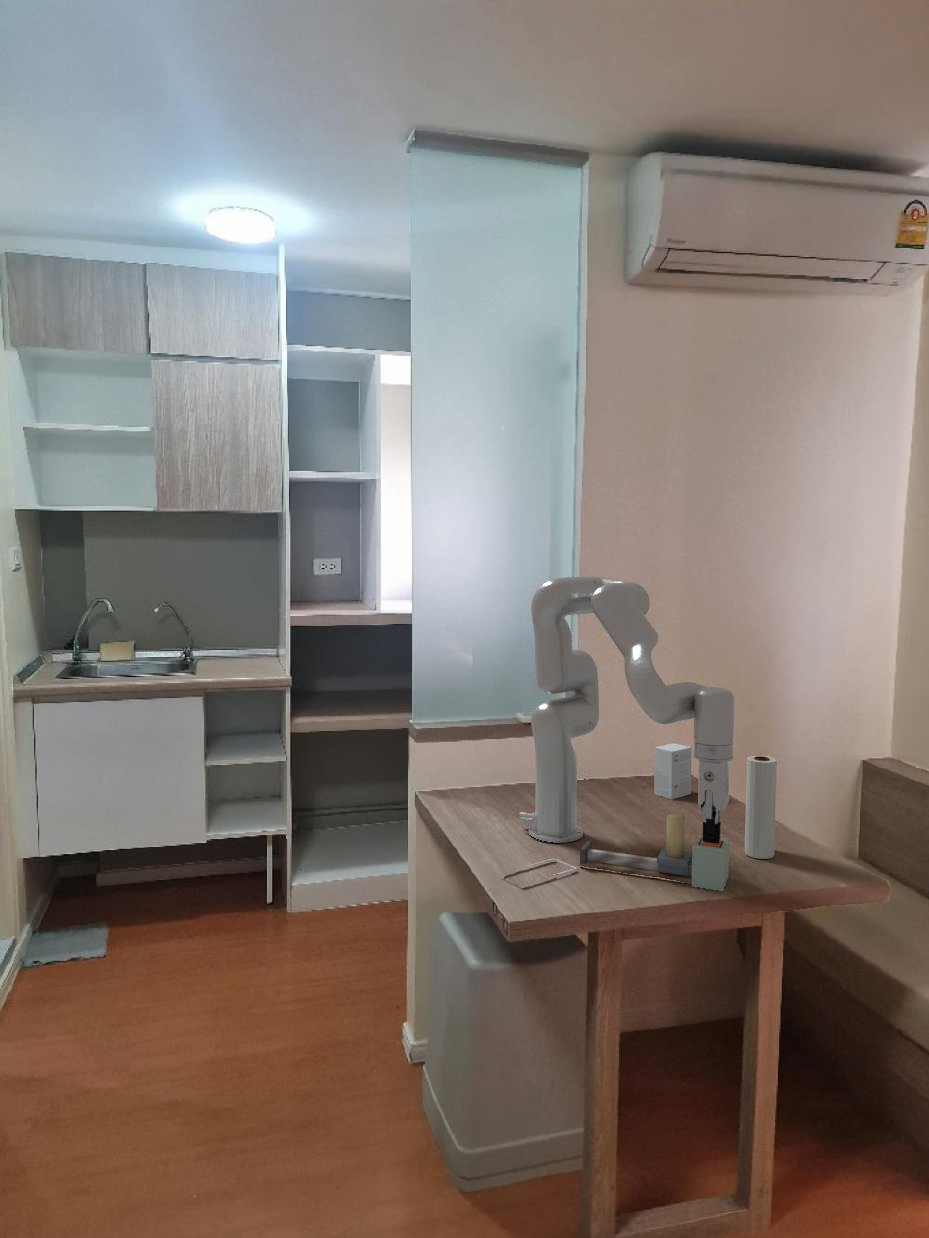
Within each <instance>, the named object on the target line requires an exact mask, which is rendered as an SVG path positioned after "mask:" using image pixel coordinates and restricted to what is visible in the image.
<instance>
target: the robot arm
mask: <svg viewBox="0 0 929 1238" xmlns="http://www.w3.org/2000/svg"><path fill="white" fill-rule="evenodd" d="M650 601H651V600H650V596H649V593H648V591H647V590H646V588H644V587H643V586H642V585H641V584H639V583H636V582H634V581H628V580H626V581H625V580H619V579H615V578H614V579H613V578H606V577H601V576H566V577H565V576H564V577H558V578H557V577H556V578H552V579H549V580H548V581H546V582H543V583H542V584H541V585H540V586H539V587H538V588H537V589H536V590H535V592H534V594H533V597H532V600H531V603H530V604H531V605H530V611H531V612H530V613H531V619H532V626H533V634H534V635H533V636H534V659H535V660H534V662H535V664H534V665H535V680H536V684H537V686H538V688H539V689H540V691H541V692H543V693H545V694H549V695H557V694H563V693H564V697H559V698H555V699H551V700H550V699H549V700H546V701H544V702H542V703H540V704H539V705H538V706H537V707H536V708H535V709H534V710H533V712H532V715H531V718H530V723H531V724H530V725H531V726H530V727H531V731H532V735H533V741H534V753H535V756H534V759H535V760H534V761H535V764H534V765H535V767H534V768H535V807H534V808H535V812H533V811H532V813H530V812H529V813H528V812H527V811H526V812H525V811H520V812H519V813H518V819H519V820H520V823H522V824H529V825H530V826H529V827H528V835H529V836H530V835H531V836H532V837H534V838H536V839H535V840H537V839H539V840H538V841H540V840H542V841H541V842H544V841H547V842H546V843H551V842H553V843H554V844H565V843H572V842H575V841H578V840H580V839H581V838H582V837H583V836H584V830H583V828H582V827H581V826H579V825H577V817H578V816H577V792H578V789H577V788H578V787H577V786H578V785H577V784H578V780H577V779H578V778H577V777H578V774H577V773H578V771H577V770H578V767H577V766H578V761H577V754H576V752H575V749H574V746H573V744H572V741H571V739H574V738H577V737H583V736H584V735H587V734H590V733H592V732H593V731H594V730H595V729H596V727H597V725H598V723H599V718H600V698H599V674H598V667H597V665H596V661H595V660H594V658H593V656H591V655H590V654H589V653H588V652H587V651H584V650H583V649H573V643H572V642H573V640H572V639H573V636H572V631H571V628H570V625H569V624H568V622H567V620H566V618H565V617H567V616H572V615H573V616H574V615H585V614H586V615H587V614H594V615H595V616H596V618H597V620H598V621H599V623H600V624H601V626H602V627H603V628H604V630H605V631H606V634H608V636H609V637H610V638H611V639H610V640H612V641H613V643H614V644H615V646H616V647H617V649H618V651H620V652H619V653H621V655H622V656H623V658H624V659H623V660H624V666H623V667H624V674H625V678H626V679H625V680H626V683H627V686H628V689H629V691H630V692H631V694H632V696H633V697H634V699H635V700H636V702H637V703H638V705H639V706H640V708H641V709H642V711H643V712H644V713H645V714H646V715H647V716H648V718H650V719H651V720H652V721H653V722H655V723H658V724H660V725H669V724H673V723H677V722H678V723H679V722H681V721H687V720H692V719H693V751H692V752H693V754H692V756H693V758H694V759H695V760H698V770H697V771H698V774H697V775H698V776H697V777H698V780H697V803H698V809H699V810H700V811H702V812H703V816H702V817H703V821H702V835H703V841H704V842H710V843H719V841H720V837H721V821H720V819H721V813H722V814H723V812H725V811H726V808H727V807H728V804H729V802H730V771H729V770H730V769H729V768H730V767H729V766H730V765H729V762H731V761H733V759H734V724H735V723H734V721H735V718H734V717H735V696H734V693H733V691H731V690H730V689H727V688H723V687H715V686H714V687H713V686H712V687H711V686H709V687H708V686H704V685H702V684H698V683H695V682H691V681H683V682H676V683H673V684H668V685H666V684H665V682H664V681H663V680H662V678H661V676H660V675H659V674H658V672H657V671H656V668H655V666H654V663H653V660H652V652H653V650H654V649H655V647H656V645H657V644H658V642H659V640H660V639H659V634H658V632H657V630H655V628H654V627H653V625H652V624H651V623H650V621H649V619H648V618H647V617H646V614H647V613H648V612H649V610H650V608H651V607H650V605H651V602H650ZM531 836H530V837H531ZM532 837H531V838H532ZM534 838H533V839H534Z"/></svg>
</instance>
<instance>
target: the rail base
mask: <svg viewBox="0 0 929 1238" xmlns="http://www.w3.org/2000/svg"><path fill="white" fill-rule="evenodd" d="M580 866H584V867H589V868H597V869H603V870H609V871H615V872H621V873H627V874H638V875H644V876H652V877H660V878H665V879H670V880H676V881H680V882H684V883H689V884H688V885H690V884H692V863H690V864H689V875H688V876H684V875H677V874H671V873H664V872H658V864H657V857H650V856H642V855H637V854H635V855H634V854H629V853H622V852H616V851H615V852H613V851H607V850H600V849H593V840H589V839H588V840H587V841H586V842H585V843H584V844H583V845H582V846H581V847H580V849H579V867H580Z"/></svg>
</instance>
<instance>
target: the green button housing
mask: <svg viewBox="0 0 929 1238" xmlns="http://www.w3.org/2000/svg"><path fill="white" fill-rule="evenodd" d="M702 839H703V834H698V835H697V837H696V839H695V841H694V843H693V845H692V847H691V852H692V885H691V887H692V888H697V887H700V888H699V889H703V888H705V889H704V890H710V889H711V890H712V891H717V890H718V892H724V890H725V888H726V886H727V885H726V884H727V881H728V879H729V863H730V862H729V859H730V848H729V847H730V838H727V837H721V836H720V840H722V844H721V848H718V847H710V846H703V845H700V843H701V841H702ZM724 887H725V888H724Z"/></svg>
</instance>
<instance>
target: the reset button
mask: <svg viewBox="0 0 929 1238" xmlns="http://www.w3.org/2000/svg"><path fill="white" fill-rule="evenodd" d="M721 844H722V840H720V841H719V843H710V842H704V841H703V839H702V841H701V843H700V845H703V846H710V847H718V848H721Z"/></svg>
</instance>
